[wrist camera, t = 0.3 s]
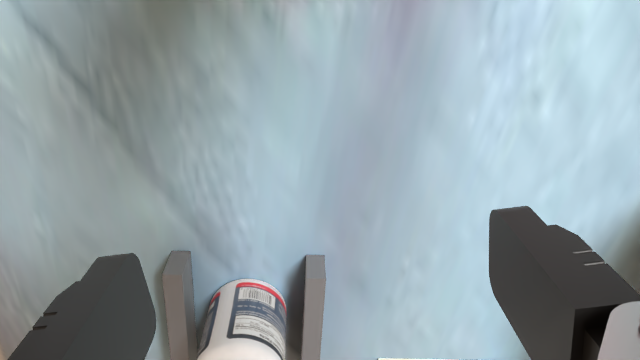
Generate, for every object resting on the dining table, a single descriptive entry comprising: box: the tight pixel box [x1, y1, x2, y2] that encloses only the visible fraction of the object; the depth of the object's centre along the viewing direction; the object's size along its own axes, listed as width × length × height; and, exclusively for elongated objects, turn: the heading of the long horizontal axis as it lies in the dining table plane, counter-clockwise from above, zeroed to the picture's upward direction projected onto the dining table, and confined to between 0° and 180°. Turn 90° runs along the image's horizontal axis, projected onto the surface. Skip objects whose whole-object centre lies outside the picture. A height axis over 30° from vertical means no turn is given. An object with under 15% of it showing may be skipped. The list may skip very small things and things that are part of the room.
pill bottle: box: [196, 279, 287, 360], centre depth 30 cm, size 5×5×9 cm
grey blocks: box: [162, 251, 326, 360], centre depth 33 cm, size 9×10×2 cm
